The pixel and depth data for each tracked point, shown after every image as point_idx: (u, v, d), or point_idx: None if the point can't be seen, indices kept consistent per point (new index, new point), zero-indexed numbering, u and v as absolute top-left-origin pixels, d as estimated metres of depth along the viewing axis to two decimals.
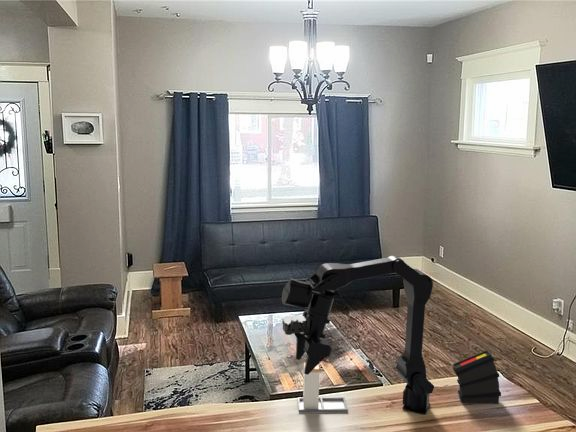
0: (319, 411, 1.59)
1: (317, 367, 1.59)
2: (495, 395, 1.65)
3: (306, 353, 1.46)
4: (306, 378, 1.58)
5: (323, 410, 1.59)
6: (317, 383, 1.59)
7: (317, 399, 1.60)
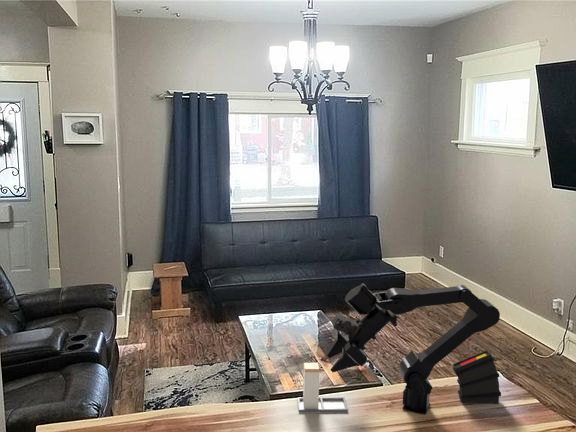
0: (319, 411, 1.59)
1: (317, 367, 1.59)
2: (495, 395, 1.65)
3: (342, 353, 1.53)
4: (306, 378, 1.58)
5: (323, 410, 1.59)
6: (317, 383, 1.59)
7: (317, 399, 1.60)
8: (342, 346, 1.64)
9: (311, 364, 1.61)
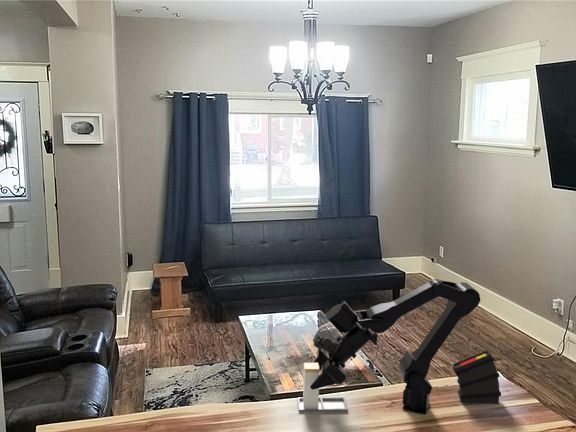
0: (319, 411, 1.59)
1: (317, 367, 1.59)
2: (495, 395, 1.65)
3: (322, 370, 1.54)
4: (306, 378, 1.58)
5: (323, 410, 1.59)
6: None
7: (317, 399, 1.60)
8: (323, 363, 1.65)
9: (311, 364, 1.61)
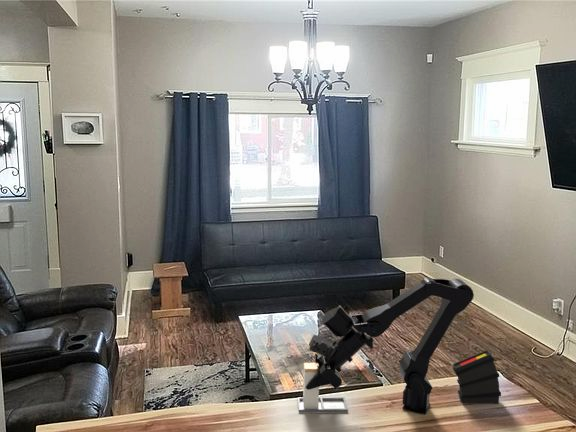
0: (319, 411, 1.59)
1: None
2: (495, 395, 1.65)
3: (317, 371, 1.56)
4: (306, 378, 1.58)
5: (323, 410, 1.59)
6: None
7: (317, 399, 1.60)
8: None
9: (311, 364, 1.61)
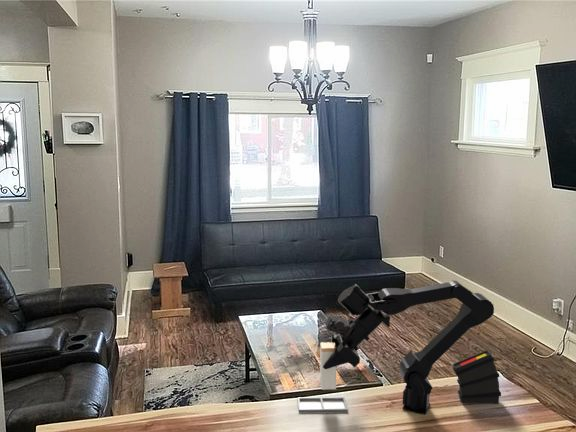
0: (319, 411, 1.59)
1: None
2: (495, 395, 1.65)
3: (334, 350, 1.55)
4: (323, 357, 1.58)
5: (323, 410, 1.59)
6: None
7: (334, 379, 1.59)
8: None
9: (327, 343, 1.60)
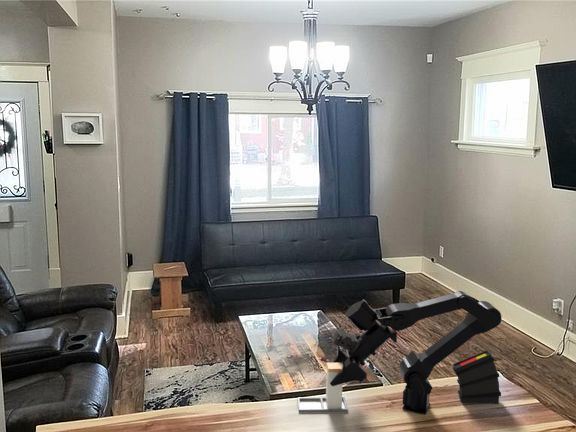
0: (319, 411, 1.59)
1: (340, 367, 1.59)
2: (495, 395, 1.65)
3: (342, 367, 1.55)
4: (329, 378, 1.59)
5: (323, 410, 1.59)
6: None
7: (340, 399, 1.60)
8: None
9: (334, 363, 1.61)
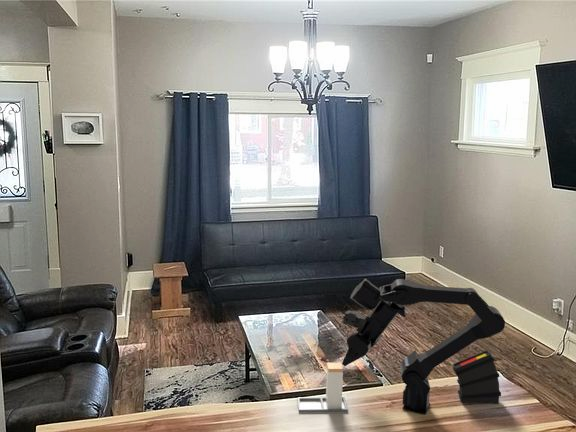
0: (319, 411, 1.59)
1: (340, 367, 1.59)
2: (495, 395, 1.65)
3: (348, 344, 1.57)
4: (330, 378, 1.59)
5: (323, 410, 1.59)
6: (340, 383, 1.59)
7: (340, 399, 1.60)
8: None
9: (334, 363, 1.61)
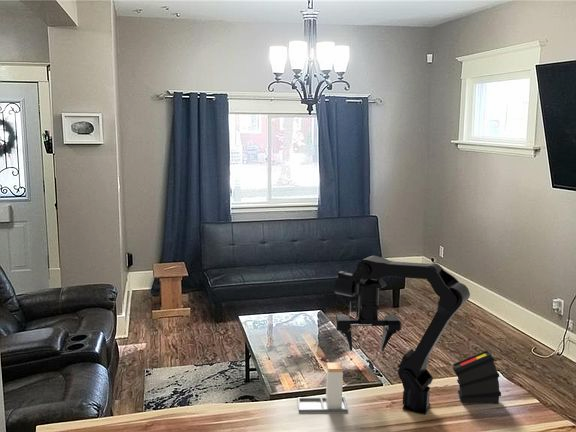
0: (319, 411, 1.59)
1: (340, 367, 1.59)
2: (495, 395, 1.65)
3: None
4: (330, 378, 1.59)
5: (323, 410, 1.59)
6: (340, 383, 1.59)
7: (340, 399, 1.60)
8: (384, 335, 1.68)
9: (334, 363, 1.61)
